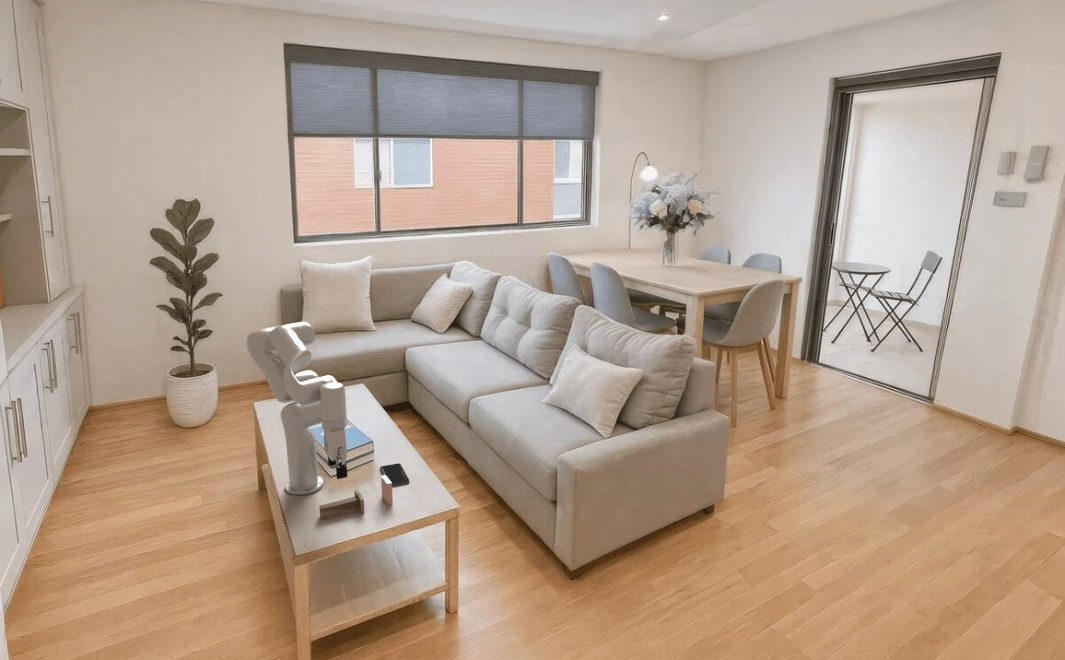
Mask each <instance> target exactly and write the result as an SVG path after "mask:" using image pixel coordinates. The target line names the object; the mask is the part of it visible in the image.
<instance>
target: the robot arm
mask: <svg viewBox="0 0 1065 660" xmlns="http://www.w3.org/2000/svg"><path fill="white" fill-rule="evenodd" d="M315 340H316V333H315V330H314V328H313V326H312V325H311V324H310V323H308V322H306V321H298V322H290V323H286V324H281V325H274V326H269V327H265V328H260V329H257V330H254V331H252V332H250V333H249V335H247V338H246V346H247V347H246V348H247V351H248V353H249V355H250V358H251V359H252V361H253V362H254V363H255V364H256V366H257V367H258V368H259V369H260V370H261V372H262V373H263V375H264V377H265V379H266V382H267V383H268V384H269V385H268V386H269V387H270V389H271V391H272V393H273V395H274V397H275V399H276V400H277V401H278V402H279V403H282V404H286V403H288V404H286V405H285V406H284V407H283V408H282V409H281V411H280V420H281V423H282V427H283V431H284V437H285V444H286V445H285V447H286V453H287V454H286V456H287V466H288V467H287V469H288V480H287V481H286V483H285V485H284V488H285V489H284V490H285V491H286V492H287V493H288V494H291V495H295V496H303V495H304V496H305V495H309V494H313V493H315V492H317V491H318V490H320V489H321V488H323V486H324V479H323V477H321V476H320V475H319V472H318V471H319V467H318V456H317V454H318V453H317V441H316V437H315V435H314V434H313V433H312V432H311V431H310V430H308V429H309V428H311V427H313V426H317V425H320V424H321V429H323V448H324V449H323V450H324V452H325V454H326V455H327V463H328V467H333V466H336V467H335V470H336V479H337V480H340V479H345V478H347V477H348V467H347V465H348V463H347V456H348V448H347V438H346V430H345V428H347V426H348V419H347V418H348V417H347V415H348V414H347V402H346V401H347V398H346V397H347V396H346V387H345V385H344V384H343V383H341V382H338V381H337V379H336V378H335V377H334V376H332V375H328V374H327V375H322V376H319V375H318V374H317V373H316V372H315V371H313V370H311V369H310V370H309V369H307V370H304V369H305V368H306V367H307V366H309V364H310V363H311V361H312V357H313V355H312V352H311V351H310V349H309V348H308V347H307V346H311V345H313V343H315ZM273 352H277V354H278V355H277V354H276V353H273ZM302 370H303V371H302Z"/></svg>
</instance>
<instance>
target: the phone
mask: <svg viewBox="0 0 1065 660" xmlns="http://www.w3.org/2000/svg"><path fill="white" fill-rule="evenodd" d="M379 471H380V473H381V476H384V475H385V476H387V477H388V479H389V480H390V481H391V482H392V488H393V486H394V487H399V486H403V484H404V485H408V484H409V483H410V479H409V476H408V475H407V473H406V472H405V469H404V467H403V466H402V463H393V464H386V465H381V466H380V467H379ZM396 485H397V486H396ZM398 485H399V486H398Z"/></svg>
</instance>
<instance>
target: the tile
mask: <svg viewBox="0 0 1065 660" xmlns="http://www.w3.org/2000/svg"><path fill="white" fill-rule="evenodd" d="M380 480H381V481H380V483H381V484H380V485H381V497H382V499H383V501H384V502H385V503H386V505H387V506H392V504H393V503H394V502H393V487H392V482H391V481H390V480H389V479H388V477H387V476H385V475H384V476H383V475H380Z"/></svg>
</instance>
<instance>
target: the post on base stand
mask: <svg viewBox="0 0 1065 660" xmlns="http://www.w3.org/2000/svg"><path fill="white" fill-rule="evenodd" d="M353 493H354V494H353V495H354V496H352V497H348V498H345V499H339V500H337V501H331V502H329V503H324V504H321V505H319V507H318V508H319V517H320V519H321V520H322V521H324V519H325V520H327V519H332V518H335V516H336V517H338V516H342V514H343V515H346V513H347V514H350V513H349V512H351V513H353V512H358V511H359V510H360V511H359V512H360V513H361V514H365V498H364V497H363V496H362V495H361V493H360V491H359V490H358V489H354V492H353ZM357 510H358V511H357ZM331 517H332V518H331Z"/></svg>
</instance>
